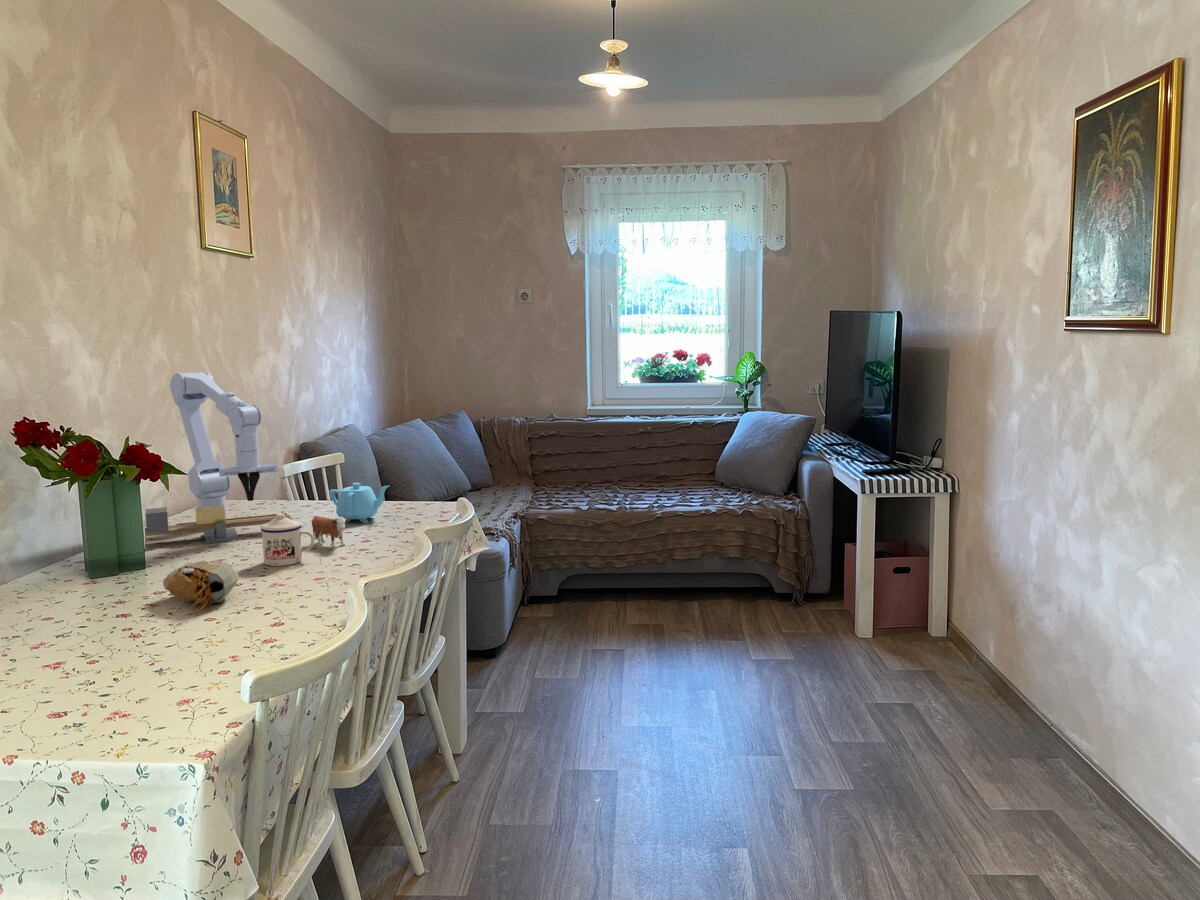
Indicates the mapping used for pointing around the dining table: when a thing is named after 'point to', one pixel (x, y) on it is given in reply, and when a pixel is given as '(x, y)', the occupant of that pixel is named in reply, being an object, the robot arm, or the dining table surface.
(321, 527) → the bull figurine
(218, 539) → the pivot stand
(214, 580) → the nautilus
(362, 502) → the teapot
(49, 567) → the dining table surface
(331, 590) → the dining table surface
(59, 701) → the dining table surface
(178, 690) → the dining table surface
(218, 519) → the block
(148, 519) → the beam
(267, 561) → the teacup with lid
